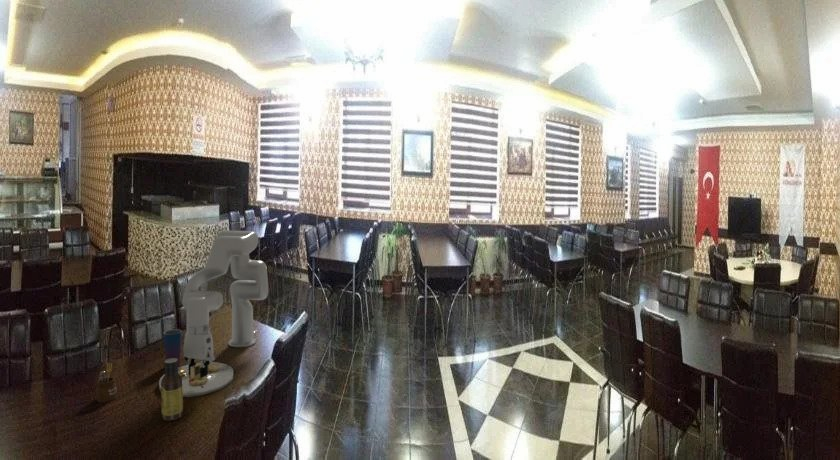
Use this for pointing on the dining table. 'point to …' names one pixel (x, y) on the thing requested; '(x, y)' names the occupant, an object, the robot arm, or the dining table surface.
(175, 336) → the cup
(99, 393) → the utensil holder
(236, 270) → the robot arm
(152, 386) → the dining table surface
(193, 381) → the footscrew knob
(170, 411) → the sauce bottle
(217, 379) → the white round plate
